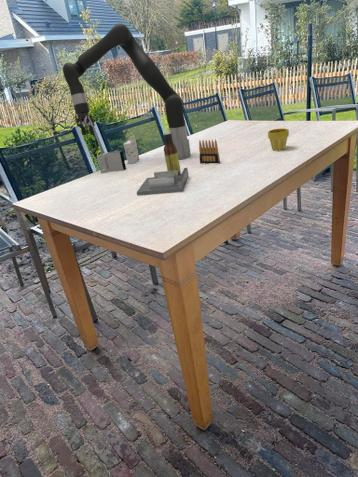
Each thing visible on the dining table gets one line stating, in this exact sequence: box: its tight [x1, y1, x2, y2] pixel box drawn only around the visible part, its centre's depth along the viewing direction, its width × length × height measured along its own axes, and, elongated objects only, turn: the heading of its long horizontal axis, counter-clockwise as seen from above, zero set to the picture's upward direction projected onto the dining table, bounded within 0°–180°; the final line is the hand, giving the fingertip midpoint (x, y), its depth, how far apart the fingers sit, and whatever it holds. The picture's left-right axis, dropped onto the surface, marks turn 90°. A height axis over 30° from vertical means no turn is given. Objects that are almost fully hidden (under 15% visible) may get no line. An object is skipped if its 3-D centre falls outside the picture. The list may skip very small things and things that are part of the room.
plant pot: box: [267, 127, 290, 151], centre depth 192 cm, size 10×10×10 cm
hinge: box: [96, 150, 127, 174], centre depth 201 cm, size 14×5×10 cm, turn 92°
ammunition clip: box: [198, 139, 221, 165], centre depth 186 cm, size 11×2×12 cm, turn 59°
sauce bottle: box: [162, 132, 182, 175], centre depth 174 cm, size 7×6×20 cm
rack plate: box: [136, 167, 190, 196], centre depth 164 cm, size 20×20×5 cm
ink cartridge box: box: [123, 134, 140, 165], centre depth 213 cm, size 9×5×15 cm, turn 168°
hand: (88, 134), depth 197 cm, fingers open, 8 cm apart
